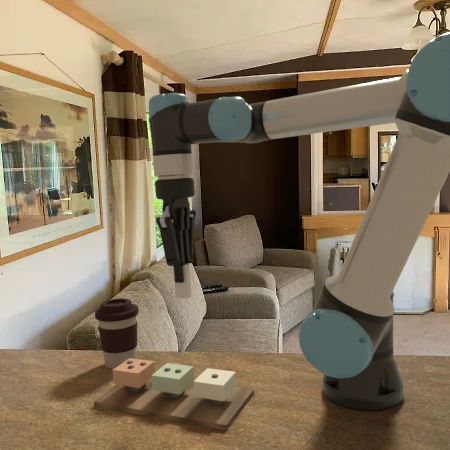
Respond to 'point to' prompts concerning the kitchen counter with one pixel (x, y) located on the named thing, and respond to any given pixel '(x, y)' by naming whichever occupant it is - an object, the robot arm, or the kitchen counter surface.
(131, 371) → the tile three
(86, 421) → the kitchen counter surface
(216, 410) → the key board
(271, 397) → the kitchen counter surface
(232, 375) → the tile one
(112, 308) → the coffee cup
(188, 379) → the tile two
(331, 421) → the kitchen counter surface
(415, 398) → the kitchen counter surface
